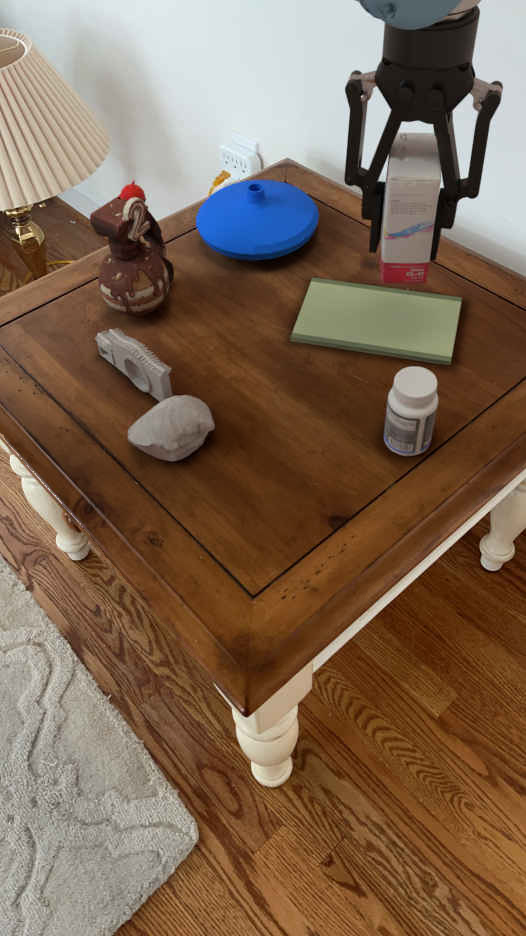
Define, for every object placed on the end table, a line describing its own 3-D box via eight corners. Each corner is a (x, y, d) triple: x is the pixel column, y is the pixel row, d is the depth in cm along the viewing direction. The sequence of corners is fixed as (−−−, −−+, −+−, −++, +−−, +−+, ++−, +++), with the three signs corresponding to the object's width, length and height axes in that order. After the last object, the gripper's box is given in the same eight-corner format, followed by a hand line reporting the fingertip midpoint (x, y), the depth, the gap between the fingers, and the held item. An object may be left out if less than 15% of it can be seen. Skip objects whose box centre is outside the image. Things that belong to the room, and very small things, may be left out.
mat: (290, 341, 85) (290, 337, 84) (312, 281, 91) (312, 277, 91) (450, 365, 81) (451, 361, 81) (461, 301, 88) (462, 297, 87)
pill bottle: (416, 416, 77) (426, 357, 71) (439, 448, 74) (451, 390, 68) (374, 430, 76) (381, 371, 70) (396, 463, 73) (405, 405, 67)
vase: (174, 237, 98) (166, 188, 93) (262, 188, 104) (259, 140, 99) (253, 291, 91) (250, 242, 85) (343, 235, 97) (346, 186, 91)
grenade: (140, 272, 94) (116, 160, 82) (193, 292, 91) (175, 179, 79) (92, 316, 89) (59, 204, 77) (146, 338, 86) (120, 225, 75)
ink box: (426, 287, 76) (445, 181, 67) (376, 284, 77) (388, 178, 67) (424, 236, 81) (442, 131, 72) (378, 233, 82) (390, 129, 72)
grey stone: (181, 482, 73) (174, 450, 69) (117, 450, 76) (107, 418, 72) (230, 425, 78) (226, 391, 74) (167, 397, 80) (160, 363, 77)
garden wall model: (98, 356, 85) (86, 316, 80) (111, 348, 86) (100, 308, 81) (166, 410, 79) (157, 370, 75) (178, 401, 80) (170, 361, 75)
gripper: (555, -9, 60) (497, 238, 78) (330, -21, 64) (325, 217, 82) (551, 30, 56) (491, 282, 74) (310, 15, 59) (309, 259, 78)
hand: (404, 248), depth 78 cm, fingers closed on ink box, 5 cm apart
